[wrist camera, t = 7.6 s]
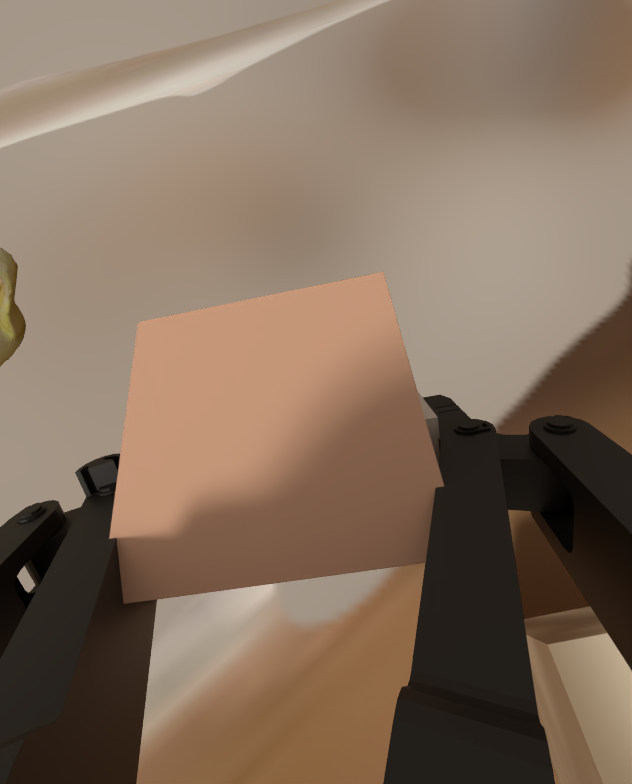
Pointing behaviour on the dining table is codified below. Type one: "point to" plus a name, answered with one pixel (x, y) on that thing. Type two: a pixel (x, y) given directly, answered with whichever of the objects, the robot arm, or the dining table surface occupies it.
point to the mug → (9, 309)
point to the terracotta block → (272, 445)
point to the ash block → (582, 697)
